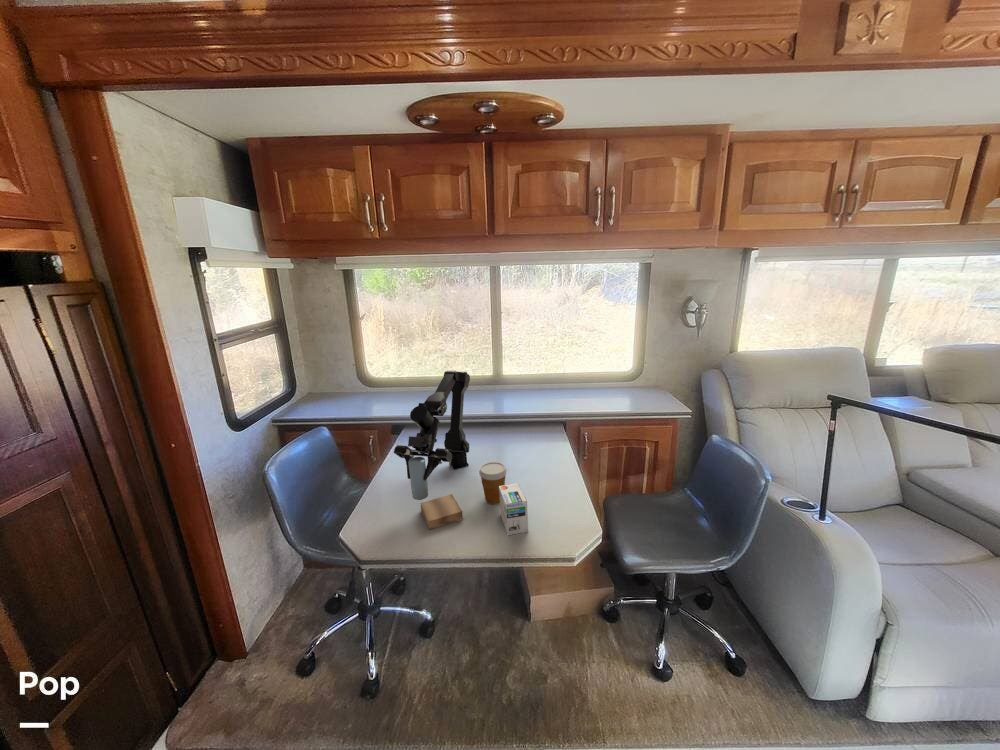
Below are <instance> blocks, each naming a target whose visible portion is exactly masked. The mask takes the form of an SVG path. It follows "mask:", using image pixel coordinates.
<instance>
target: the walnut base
mask: <svg viewBox="0 0 1000 750" xmlns="http://www.w3.org/2000/svg"><path fill="white" fill-rule="evenodd" d="M420 511H421V513H422V515H423V518H424V521H425V523H426V525H427V527H428V530H433V529H437V528H440V527H442V526H445V525H449V524H452V523H455V522H458V521H461V520H464V515H463V510H462V508H461V506H460V505H459V503H458V501H457V500H456V498H455V497H454V495H453V493H450V494H448V495H444V496H441V497H440V496H439V497H437V498H433V499H429V500H426V501H422V502H420Z"/></svg>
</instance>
